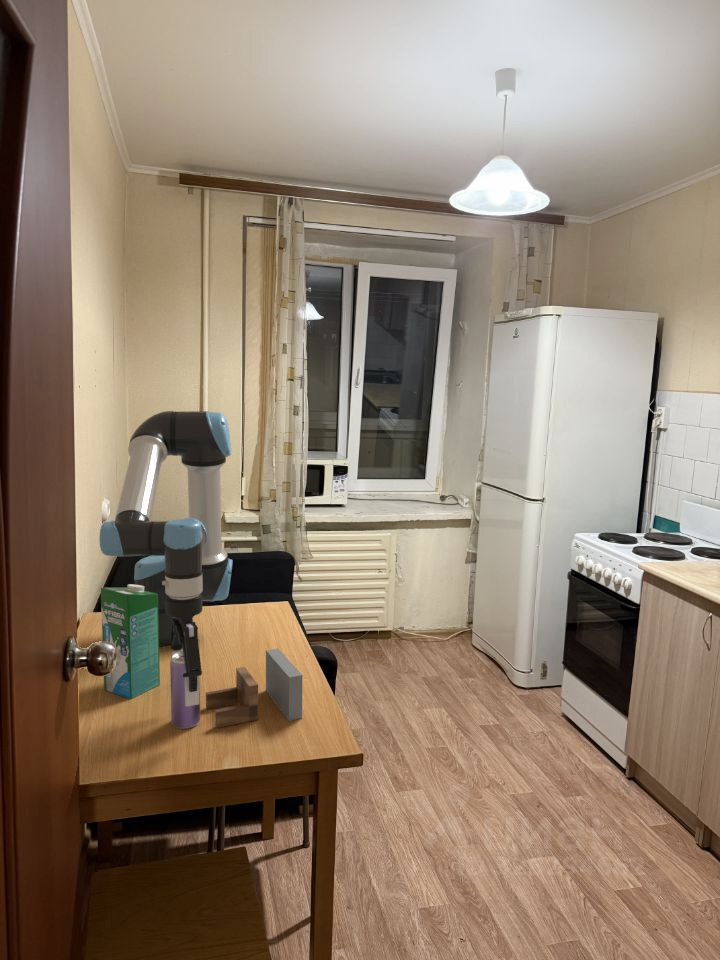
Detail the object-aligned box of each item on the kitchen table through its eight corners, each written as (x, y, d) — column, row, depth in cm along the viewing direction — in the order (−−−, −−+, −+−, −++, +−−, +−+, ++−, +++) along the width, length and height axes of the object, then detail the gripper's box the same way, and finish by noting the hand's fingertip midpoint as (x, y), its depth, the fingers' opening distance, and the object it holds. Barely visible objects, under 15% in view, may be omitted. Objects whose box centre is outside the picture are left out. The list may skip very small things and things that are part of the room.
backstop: (265, 690, 163) (265, 650, 161) (277, 688, 164) (278, 648, 163) (289, 721, 149) (289, 677, 147) (302, 718, 150) (302, 675, 149)
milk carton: (160, 684, 164) (158, 584, 161) (130, 699, 157) (127, 594, 153) (134, 676, 169) (131, 577, 165) (103, 689, 161) (100, 587, 158)
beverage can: (192, 731, 143) (191, 663, 141) (166, 728, 145) (165, 660, 142) (204, 718, 149) (204, 652, 147) (179, 714, 150) (178, 649, 148)
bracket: (205, 707, 154) (205, 673, 152) (244, 699, 158) (244, 666, 156) (217, 727, 145) (216, 692, 144) (258, 719, 149) (258, 684, 148)
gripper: (155, 580, 152) (156, 671, 155) (177, 615, 130) (179, 720, 133) (189, 577, 155) (190, 666, 158) (216, 610, 133) (217, 713, 136)
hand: (185, 691), depth 146 cm, fingers open, 13 cm apart
